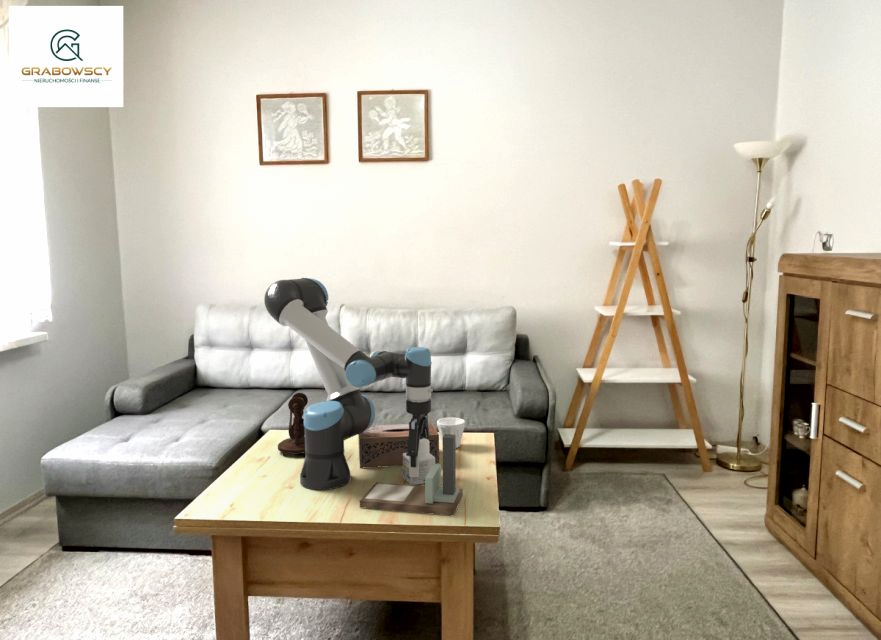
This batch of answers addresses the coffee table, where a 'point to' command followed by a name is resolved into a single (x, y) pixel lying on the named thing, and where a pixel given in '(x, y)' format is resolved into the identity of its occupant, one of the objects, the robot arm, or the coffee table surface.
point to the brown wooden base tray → (405, 499)
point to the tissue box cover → (390, 445)
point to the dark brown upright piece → (295, 426)
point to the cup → (451, 428)
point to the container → (424, 462)
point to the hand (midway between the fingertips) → (418, 470)
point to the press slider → (449, 475)
